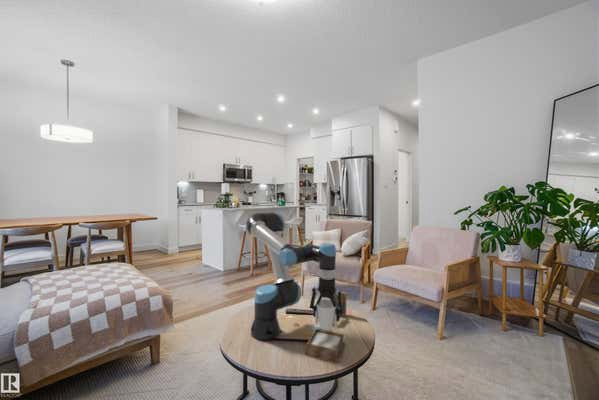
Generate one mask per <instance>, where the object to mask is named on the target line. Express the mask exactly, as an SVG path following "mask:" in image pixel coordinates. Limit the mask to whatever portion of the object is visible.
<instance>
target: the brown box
mask: <svg viewBox="0 0 599 400" xmlns="http://www.w3.org/2000/svg"><path fill="white" fill-rule="evenodd" d="M345 347H346V342H345V341H344V334H343V333H337V332H333V331H330V330H323V329H319V328H315V329H314V330H313V333H312V334H311V336H310V337H309V338H308V341H307V343H306V348H305V349H304V354H303V355H306V356H309V357H314V358H317V359H322V360H326V361H330V362H334V363H338V364H340V363H341V359H342V356H343V353H344V350H345Z"/></svg>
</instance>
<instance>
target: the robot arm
mask: <svg viewBox="0 0 599 400" xmlns="http://www.w3.org/2000/svg"><path fill="white" fill-rule="evenodd" d="M245 226H246V227H245V228H246V230H247V232H248V233H249V235H251V236H252V237H254V238H258V240H260V241H261V242H262V243H263V244H264V245H266V246H267V247H268V252H269V256H270V260H271V265H272V269H273V270H272V271H273V275H274V278H275V279H274V282H273V284H264V285H261V286H259V287H258V288H256V290H255V292H254V319H253V322H252V324H251V327H250V335H251V337H252V338H254V339H255V340H258V341H270V340H273V339H276V338H277V337H278V336H280V334H279V333H281V325H280V323H279V320H278V311H279V310H281V309H284V308H285V309H286V308H288V307H291V306H294V305H296V304H297V303H299V302H300V299H301V297H302V289H301V285H299V283H298V282H296V281H295V279H294V278H293V277H292V276H291V274H290V273H291V272H290V269H289V267H290V266H291V267H292V266H295V265H298V264H302V263H303V264H304V263H309V262H316V263H319V264H318V265H319V266H318V267H319V268H318V276H319V277H318V287H317V286H314V287H313V288H312V289H311V291H312V295H311V299H310V304H309V309H312V310H313V311H312V312H313V317H314V319H315V320H314V321H315V322H314V323H315V324H314V325H315V326H317V325H319V318H318V312H317V305H319V303H320V301H321V300H323V298H327V299H329V300H331V302H332V304H333V307H336V306H337V307H336V309H335V312H336V313H335V321H334V326H333V327H334V329H335V330H336V329H337V328H338V322H339V321H340V318H341V316H340V314H343V312H344V309H343V303H342V297H341V294H342V292H343V291H342V290H337V288H336V257H337V251H336V250H337V249H336V248H337V247H336V245H335V244H333V243H329V242H328V243H327V242H326V243H325V242H324V243H321V244H319V245H314V244H311V243H305V244H303V245H302V246H297V247H295V246H293V245H292V244H291V243H289V242H288V241H287V240H285V239H284V238H283V237H282V234H284V233H283V230H284V229H285V219H284V217H283V215H282V214H280V213H279V212H272V211H270V212H256V213H253V214H251V215H250V216H249V217H248V218H247V221H246V224H245ZM317 292H319V297H318V299H317V301H316V297H317ZM335 293H336V294H337V296H338V303H339V308H340V310H339V308H338V305H337V303H336V300H335V297H334V294H335ZM315 301H316V303H317V305H316V303H315Z"/></svg>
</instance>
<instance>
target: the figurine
mask: <svg viewBox="0 0 599 400" xmlns="http://www.w3.org/2000/svg"><path fill="white" fill-rule="evenodd" d="M334 297H335V300H336V303H337V305H338V308H339V303H338V296H337V294H336V293H335V294H334ZM341 297H342V303H343V309H344V312H343V314H340V317H347V303H348V302H347V301H348V300H347V298H348V292H347V291H342V294H341ZM339 310H340V308H339ZM334 322H335V317H334ZM333 327H334V323H333Z"/></svg>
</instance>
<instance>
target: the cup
mask: <svg viewBox="0 0 599 400" xmlns="http://www.w3.org/2000/svg"><path fill="white" fill-rule="evenodd" d="M315 304H316V305H317V303H315ZM336 307H337V306H336ZM336 307H333V304H332V302H331V300H330V299H321V301H320V303H319V305H317V312H318V325H319V328H320V330H324V331H330V330H332V329H333V327H334V326H333V323H334V322H335V321H334V317H335V313H336V312H335V309H336Z"/></svg>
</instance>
